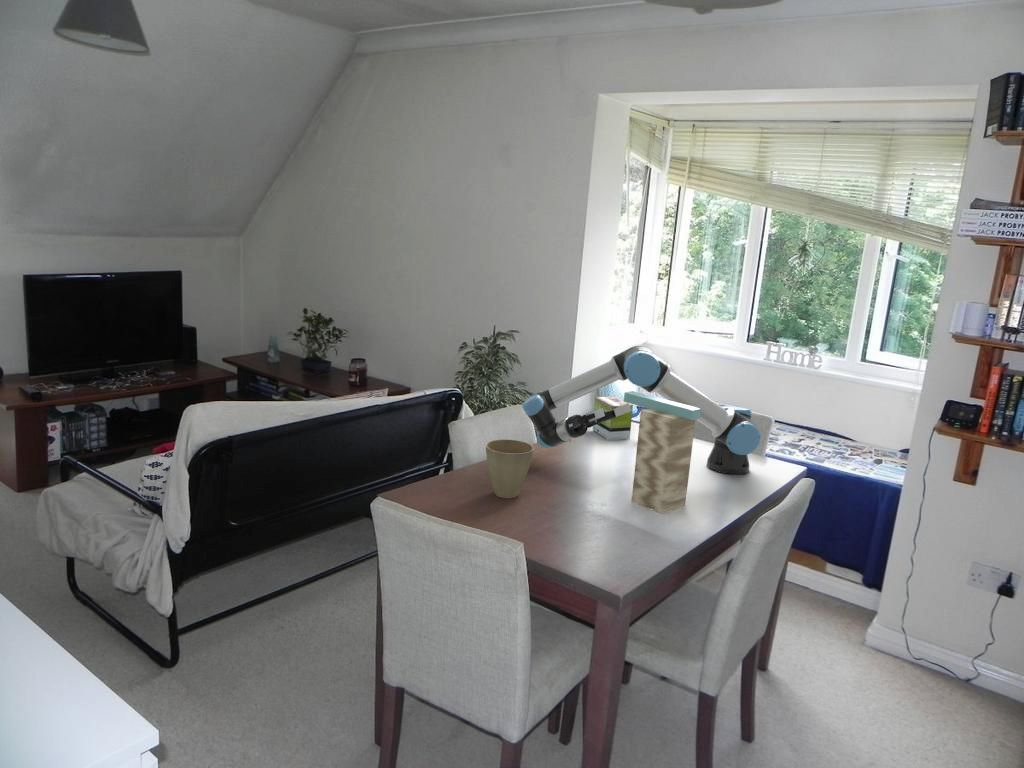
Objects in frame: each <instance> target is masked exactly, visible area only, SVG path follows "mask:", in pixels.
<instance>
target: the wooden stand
mask: <svg viewBox="0 0 1024 768" xmlns="http://www.w3.org/2000/svg"><path fill="white" fill-rule="evenodd" d="M695 425H696V419H695V420H690V419H686V418H682V417H679V416H675V415H671V414H668V413H664V412H660V411H657V410H653V409H649V408H643V409H640V413H639V424H638V433H637V434H638V436H637V444H636V453H635V454H636V455H635V465H634V473H633V481H632V493H631V494H632V495H631V503H634V504H636V505H638V506H641V507H644V508H647V509H648V510H651V509H652V511H654V512H656V511H657V513H659V514H663V515H664V514H665V513H669V512H671V510H672V511H675V510H677V508H678V509H680V508H683V507H685V506H686V502H687V494H688V485H689V477H690V469H691V461H692V452H693V445H694V444H693V441H694V434H695Z"/></svg>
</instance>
